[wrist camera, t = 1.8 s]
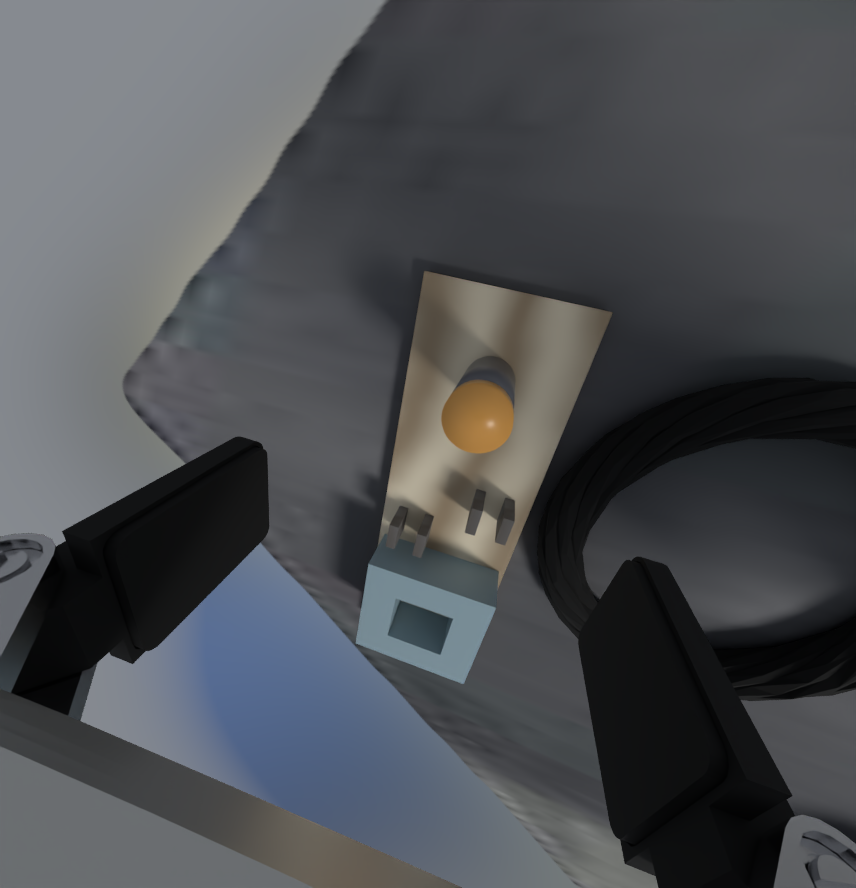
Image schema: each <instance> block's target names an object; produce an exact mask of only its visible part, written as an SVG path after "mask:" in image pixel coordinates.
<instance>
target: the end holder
mask: <svg viewBox="0 0 856 888" xmlns="http://www.w3.org/2000/svg"><path fill="white" fill-rule="evenodd" d="M387 535H388V534H385V535H384V536H383V538H382V540H381V542H380V544H379V545H378V547H377V549H376V551H375V553H374V555H373V556H372V558H371V560H370V562H369V564H368V570H367V576H366V582H365V589H364V595H363V601H362V608H361V614H360V620H359V627H358V633H357V639H356V644H359V645H362V646H364V647H367V648H370V649H372V650H375V651H377V652H380V653H383V654H385V655H388V656H391V657H393V658H396V659H398V660H401V661H404V662H406V663H409V664H412V665H414V666H417V667H420V668H422V669H425V670H427V671H430V672H433V673H435V674H438V675H441V676H443V677H446V678H448V679H451V680H454V681H456V682H459V683H462V684H464V682H465V679H466V677H467V675H468V672H469V670H470V668H471V665H472V663H473V661H474V658H475V656H476V654H477V651H478V649H479V647H480V644H481V642H482V640H483V637H484V635H485V633H486V630H487V628H488V626H489V623H490V621H491V619H492V616H493V614H494V612H495V609H496V603H497V589H498V576H499V571H496V570H493V569H490V568H487V567H484V566H481V565H478V564H475V563H472V562H469V561H466V560H463V559H460V558H457V557H454V556H451V555H448V554H445V553H442V552H439V551H436V550H433V549H430V548H427V547H425V549H424V552H423V554H422V557H421V558H419V557H416V556H413V555H412V553H413V549H414V545H415V543H412V542H409V541H406V540H403V539H400V538H399V540H398V543H397V545H396V547H395V549H392V548H389V547H386V541H387ZM401 600H402V601H404V602H402V601H401ZM405 602H407V603H405ZM408 603H410V604H408ZM411 604H413V605H411ZM414 605H416V606H419V607H421V608H419V607H416V606H414ZM422 608H424V609H422ZM425 609H427V610H425ZM428 610H430V611H433V612H435V613H433V612H430V611H428ZM436 613H438V614H436ZM439 614H441V615H439ZM442 615H444V616H442ZM445 616H447V617H449V618H447V617H445Z"/></svg>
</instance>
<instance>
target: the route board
mask: <svg viewBox="0 0 856 888" xmlns="http://www.w3.org/2000/svg"><path fill="white" fill-rule="evenodd" d="M612 313H613V312H609V311H604V310H600V309H595V308H591V307H586V306H582V305H577V304H573V303H568V302H564V301H559V300H555V299H550V298H546V297H541V296H537V295H532V294H528V293H523V292H519V291H514V290H510V289H505V288H501V287H496V286H491V285H487V284H482V283H478V282H473V281H469V280H464V279H460V278H455V277H451V276H446V275H442V274H437V273H433V272H428V271H424V276H423V282H422V288H421V294H420V299H419V305H418V311H417V317H416V323H415V329H414V335H413V341H412V347H411V352H410V358H409V364H408V370H407V376H406V382H405V388H404V394H403V400H402V405H401V411H400V417H399V423H398V429H397V435H396V441H395V447H394V453H393V459H392V464H391V470H390V476H389V482H388V488H387V494H386V500H385V506H384V512H383V517H382V523H381V529H380V535H379V541H378V545H379V544H380V542H381V540H382V538H383V536H384V535H385V534H388V535H387V541H386V547H389V548H392V549H395V547H396V545H397V543H398V540H399V538H400V539H403V540H406V541H409V542H412V543H415V545H414V549H413V553H412V555H413V556H416V557H419V558H421V557H422V554H423V552H424V549H425V547H427V548H430V549H433V550H436V551H439V552H442V553H445V554H448V555H451V556H454V557H457V558H460V559H463V560H466V561H469V562H472V563H475V564H478V565H481V566H484V567H487V568H490V569H493V570H496V571H499V576H498V587H499V584H500V582H501V580H502V577H503V575H504V572H505V570H506V568H507V565H508V563H509V560H510V558H511V556H512V553H513V551H514V548H515V546H516V544H517V541H518V539H519V536H520V534H521V532H522V529H523V527H524V524H525V522H526V520H527V517H528V515H529V512H530V510H531V508H532V505H533V503H534V500H535V498H536V496H537V493H538V491H539V488H540V486H541V484H542V481H543V479H544V477H545V474H546V472H547V469H548V467H549V465H550V462H551V460H552V457H553V455H554V453H555V450H556V448H557V445H558V443H559V441H560V438H561V436H562V433H563V431H564V429H565V426H566V424H567V421H568V419H569V417H570V414H571V412H572V409H573V407H574V405H575V402H576V400H577V397H578V395H579V393H580V390H581V388H582V385H583V383H584V381H585V378H586V376H587V373H588V371H589V369H590V366H591V364H592V361H593V359H594V357H595V354H596V352H597V349H598V347H599V345H600V342H601V340H602V337H603V335H604V333H605V330H606V328H607V325H608V323H609V321H610V318H611V316H612ZM486 356H494V357H498V358H501V359H503V360H504V361H506V362H507V363H508V364H509V365H510V366H511V368H512V369H513V372H514V374H515V401H514V422H513V428H512V432H511V434H510V436H509V438H508V439H507V440H506V442H505V443H504V444H503V445H501V446H500V447H499V448H497V449H495V450H493V451H491V452H487V453H470V452H466V451H464V450H461V449H459V448H458V447H456V446H455V445H454V444H453V443H452V442H451V441H450V440H449V439H448V438H447V436H446V434H445V433H444V430H443V427H442V422H441V415H442V410H443V407H444V405H445V403H446V401H447V400H448V398H449V397H450V395H451V394H452V392H453V390H454V389H455V387H456V386H457V384H458V383H459V381H460V380H461V378H462V376H463V375H464V373H465V372H466V370H467V369H468V367H469V366H470V365H471V364H472V363H473V362H474V361H476V360H477V359H479V358H482V357H486ZM401 601H402V600H401ZM402 602H404V601H402ZM405 603H407V602H405ZM408 604H410V603H408ZM411 605H413V604H411ZM414 606H416V605H414ZM416 607H419V606H416ZM419 608H421V607H419ZM422 609H424V608H422ZM425 610H427V609H425ZM428 611H430V610H428ZM430 612H433V611H430ZM433 613H435V612H433ZM436 614H438V613H436ZM439 615H441V614H439ZM442 616H444V615H442ZM445 617H447V616H445ZM447 618H449V617H447Z"/></svg>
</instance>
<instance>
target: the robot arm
mask: <svg viewBox="0 0 856 888" xmlns="http://www.w3.org/2000/svg"><path fill="white" fill-rule="evenodd" d="M268 530H269V501H268V464H267V452H266V450H264V449H263V446H262V444H261V443H259V442H257V441H253V440H250V439H247V438H243V437H235V438H233V439H231V440H229V441H227V442H225V443H224V444H222V445H220V446H218V447H216V448H214V449H213V450H211V451H209V452H207V453H205V454H203V455H202V456H200V457H198V458H196V459H194V460H192V461H190V462H189V463H187V464H185V465H183V466H181V467H180V468H178V469H176V470H174V471H172V472H170V473H168V474H167V475H165V476H163V477H161V478H159V479H157V480H156V481H154V482H152V483H150V484H148V485H146V486H145V487H143V488H141V489H139V490H137V491H135V492H133V493H132V494H130V495H128V496H126V497H125V498H123V499H121V500H119V501H117V502H116V503H113V504H112V505H110V506H108V507H106V508H104V509H102V510H100V511H99V512H97V513H95V514H93V515H91V516H89V517H87V518H86V519H84V520H82V521H80V522H78V523H76V524H75V525H73V526H71V527H69V528H67V529H66V530H64V531H62V532H63V534H64V537H65V539H66V541H65V542H63V543H62V544H60V545H58V546H57V547H56V545H55V544H54V542H53V540H52V539H51V538H49V537H47V536H45V535H40V534H34V533H22V534H11V535H6V536H1V537H0V888H462V887H459V886H457V885H455V884H453V883H450V882H448V881H446V880H443V879H441V878H439V877H437V876H435V875H432V874H430V873H428V872H426V871H423V870H421V869H419V868H416V867H414V866H412V865H410V864H408V863H405V862H403V861H401V860H398V859H396V858H394V857H392V856H389V855H387V854H385V853H382V852H380V851H378V850H375V849H373V848H371V847H369V846H367V845H364V844H362V843H360V842H357V841H355V840H353V839H351V838H348V837H346V836H344V835H341V834H339V833H337V832H334V831H332V830H330V829H328V828H325V827H323V826H321V825H318V824H316V823H314V822H312V821H309V820H307V819H305V818H302V817H300V816H298V815H296V814H293V813H291V812H289V811H287V810H284V809H282V808H280V807H277V806H275V805H273V804H271V803H268V802H266V801H264V800H261V799H259V798H256V797H255V796H252V795H250V794H248V793H245V792H243V791H241V790H239V789H236V788H234V787H232V786H229V785H227V784H225V783H222V782H220V781H218V780H216V779H213V778H211V777H209V776H206V775H204V774H202V773H199V772H197V771H195V770H192V769H190V768H188V767H185V766H183V765H181V764H178V763H176V762H174V761H172V760H169V759H167V758H165V757H162V756H160V755H158V754H155V753H153V752H151V751H148V750H146V749H144V748H141V747H139V746H137V745H134V744H132V743H130V742H127V741H125V740H123V739H120V738H118V737H116V736H113V735H111V734H109V733H107V732H104V731H102V730H100V729H97V728H95V727H92V726H90V725H87V724H86V723H83V722H81V721H80V720H81V717H82V713H83V710H84V706H85V703H86V700H87V696H88V693H89V689H90V686H91V683H92V679H93V676H94V672H95V669H96V665H97V662H98V661H99V660H101V659H102V658H103V657H104V656H105V655H106V654H107V653H108V652H110V654H111V655H112V656H115V657H117V658H119V659H122V660H124V661H127V662H129V663H132V664H133V663H134V662H135V661H136V660H137V659H138V658H139V657H140V656H141V655H142V654H143V653H144V652H145V651H150V650H152V649H154V648H156V647H157V646H158V645H159V644H160V643H161V642H162V641H163V640H164V639H165V638H166V637H167V636H168V635H169V634H170V633H171V632H172V631H173V630H174V629H175V628H176V627H177V626H178V625H179V624H180V623H181V622H182V621H183V620H184V619H185V618H186V617H187V616H188V615H189V614H190V613H191V612H192V611H193V610H194V609H195V608H196V607H197V606H198V605H199V604H200V603H201V602H202V601H203V600H204V599H205V598H206V597H207V596H208V595H209V594H210V593H211V592H212V591H213V590H214V589H215V588H216V587H217V586H218V585H219V584H220V583H221V582H222V581H223V579H225V578H226V577H227V576H228V575H229V574H230V573H231V572H232V571H233V570H234V569H235V568H236V567H237V566H238V565H239V564H240V563H241V562H242V560H243V559H244V558H245V557H246V556H247V555H248V554H249V553H250V552H251V551H252V550H253V549H254V548H255V547H256V546H257V545H258V544H259V543H260V542H261V541H262V540H263V539H264V538H265V536H266V535H267V533H268ZM578 644H579V651H580V657H581V663H582V668H583V674H584V680H585V685H586V691H587V697H588V702H589V708H590V714H591V719H592V725H593V731H594V736H595V742H596V748H597V753H598V759H599V765H600V770H601V776H602V782H603V787H604V793H605V799H606V804H607V810H608V816H609V821H610V825H611V828H612V831H613V833H614V835H615V836H616V837H617V838H618V839H620V841H621V846H622V851H623V857H624V862H625V864H627V865H630V866H632V867H634V868H637V869H639V870H642V871H644V872H647V873H649V874H652V875H654V876H656V879H657V883H658V887H659V888H856V844H855V843H854V842H853V841H851V840H850V839H849V838H848V837H846V836H845V835H844V834H843V833H841V832H840V831H839V830H837V829H835V828H833V827H832V826H830V825H828V824H826V823H825V822H823V821H821V820H819V819H816V818H813V817H809V816H806V815H799V816H795V815H794V813H793V811H792V809H791V807H790V805H789V803H788V801H787V800H786V799H788V798H790V797H791V796H792V794H791V792H790V790H789V789H788V787H787V785H786V783H785V781H784V779H783V778H782V776H781V774H780V772H779V770H778V768H777V767H776V765H775V763H774V761H773V759H772V757H771V756H770V754H769V752H768V750H767V748H766V746H765V744H764V743H763V741H762V739H761V737H760V735H759V733H758V732H757V730H756V728H755V726H754V724H753V722H752V721H751V719H750V717H749V715H748V713H747V711H746V709H745V708H744V706H743V704H742V702H741V700H740V698H739V697H738V695H737V693H736V691H735V689H734V687H733V686H732V684H731V682H730V680H729V678H728V676H727V675H726V673H725V671H724V669H723V667H722V665H721V663H720V662H719V660H718V658H717V656H716V654H715V652H714V651H713V649H712V647H711V645H710V643H709V641H708V640H707V638H706V636H705V634H704V632H703V630H702V628H701V627H700V625H699V623H698V621H697V619H696V617H695V616H694V614H693V612H692V610H691V608H690V606H689V605H688V603H687V601H686V599H685V597H684V595H683V594H682V592H681V590H680V588H679V586H678V584H677V582H676V581H675V579H674V577H673V575H672V573H671V571H670V570H669V568H668V567H667V566H666V565H664V564H662V563H659V562H655V561H652V560H649V559H645V558H642V557H635V558H634V559H633V560H632V561H630V560H626V561H625V562H624V563H623V564H622V566H621V567H620V569H619V570H618V572H617V574H616V575H615V577H614V578H613V580H612V581H611V583H610V585H609V586H608V588H607V589H606V591H605V593H604V594H603V596H602V597H601V599H600V600H599V602H598V604H597V605H596V607H595V608H594V610H593V612H592V613H591V615H590V616H589V618H588V619H587V621H586V623H585V624H584V626H583V627H582V629H581V631H580V634H579V640H578Z"/></svg>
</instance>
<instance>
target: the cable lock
mask: <svg viewBox="0 0 856 888" xmlns="http://www.w3.org/2000/svg"><path fill="white" fill-rule="evenodd" d="M750 438H751V439H817V440H821V441H826V442H830V443H834V444H838V445H842V446H847V447H851V448H855V449H856V382H837V381H819V380H815V379H810V378H767V379H760V380H754V381H747V382H741V383H734V384H728V385H722V386H719V387H715V388H711V389H707V390H704V391H700V392H697V393H693V394H690V395H686V396H683V397H679V398H676V399H674V400H671V401H669V402H667V403H665V404H662V405H660V406H658V407H655V408H653V409H651V410H649V411H646V412H644V413H642V414H639V415H638V416H636V417H635V418H634V419H632V420H631V421H629V422H627V423H625V424H624V425H622V426H620V427H618V428H617V429H615V430H613V431H611V432H610V433H608V434H606V435H605V436H604V437H603V438H602V439H600V440H599V441H598V442H597V443H596V444H594V445H593V446H592V447H591V448H590V449H589V450H588V451H587V452H586V453H585V454H584V455H583V456H582V457H581V459H580V460H579V461H578V462H577V463H576V464H575V466H574V467H573V468H572V469H571V470H570V471H569V472H568V473H567V474H566V475H565V476H563V477H562V479H561V481H560V483H559V484H558V486H557V488H556V489H555V491H554V493H553V494H552V496H551V498H550V500H549V501H548V503H547V506H546V509H545V511H544V514H543V517H542V520H541V523H540V525H539V535H538V546H537V547H538V550H537V555H538V564H539V574H540V577H541V581H542V584H543V587H544V590H545V594H546V596H547V597H548V599H549V601H550V603H551V605H552V606H553V608H554V610H555V612H556V613H557V615H558V617H559V618H560V619H561V621H562V622H563V623H564V624H565V625H566V626H567V627H568V628H569V629H570V630H571V632H572V633H573V634H574V635H575V636H576V637H577V638H578V639H579V634H580V631H581V629H582V627H583V626H584V624H585V623H586V621H587V619H588V618H589V616H590V615H591V613H592V612H593V610H594V608H595V607H596V605H597V604H598V602H597V601H596V600H595V598H594V596H593V594H592V592H591V590H590V588H589V586H588V584H587V581H586V577H585V571H584V563H583V554H582V552H583V548H584V546H585V543H586V540H587V537H588V534H589V531H590V529H591V528H592V526H593V525H594V524H595V522H596V521H597V519H598V518H599V516H600V515H601V513H602V512H603V510H604V509H605V508H606V506H607V505H608V503H609V502H610V500H611V499H612V498H613V497H614V496H615V495H616V494H617V493H618V492H619V491H621V490H623V489H624V488H626V487H627V486H629V485H630V484H632V483H634V482H635V481H637V480H638V479H640V478H642V477H643V476H645V475H646V474H648V473H649V472H651V471H653V470H654V469H656V468H657V467H659V466H661V465H663V464H665V463H667V462H669V461H671V460H673V459H676V458H679V457H683V456H686V455H689V454H692V453H695V452H698V451H702V450H705V449H708V448H711V447H714V446H718V445H721V444H726V443H731V442H736V441H740V440H745V439H750ZM713 651H714V652H715V654H716V656H717V658H718V660H719V662H720V663H721V665H722V667H723V669H724V671H725V673H726V675H727V676H728V678H729V680H730V682H731V684H732V686H733V687H734V689H735V691H736V693H737V695H738V697H739V698H740V700H747V701H761V700H784V699H796V698H803V697H814V696H830V695H836V694H839V693H843V692H847V691H851V690H855V689H856V618H854V619H852V620H851V621H849V622H848V623H846V624H844V625H843V626H841V627H839V628H838V629H836V630H832V631H829V632H826V633H822V634H819V635H815V636H812V637H809V638H805V639H802V640H798V641H795V642H792V643H788V644H785V645H782V646H778V647H774V648H772V647H771V648H753V649H735V650H713Z"/></svg>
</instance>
